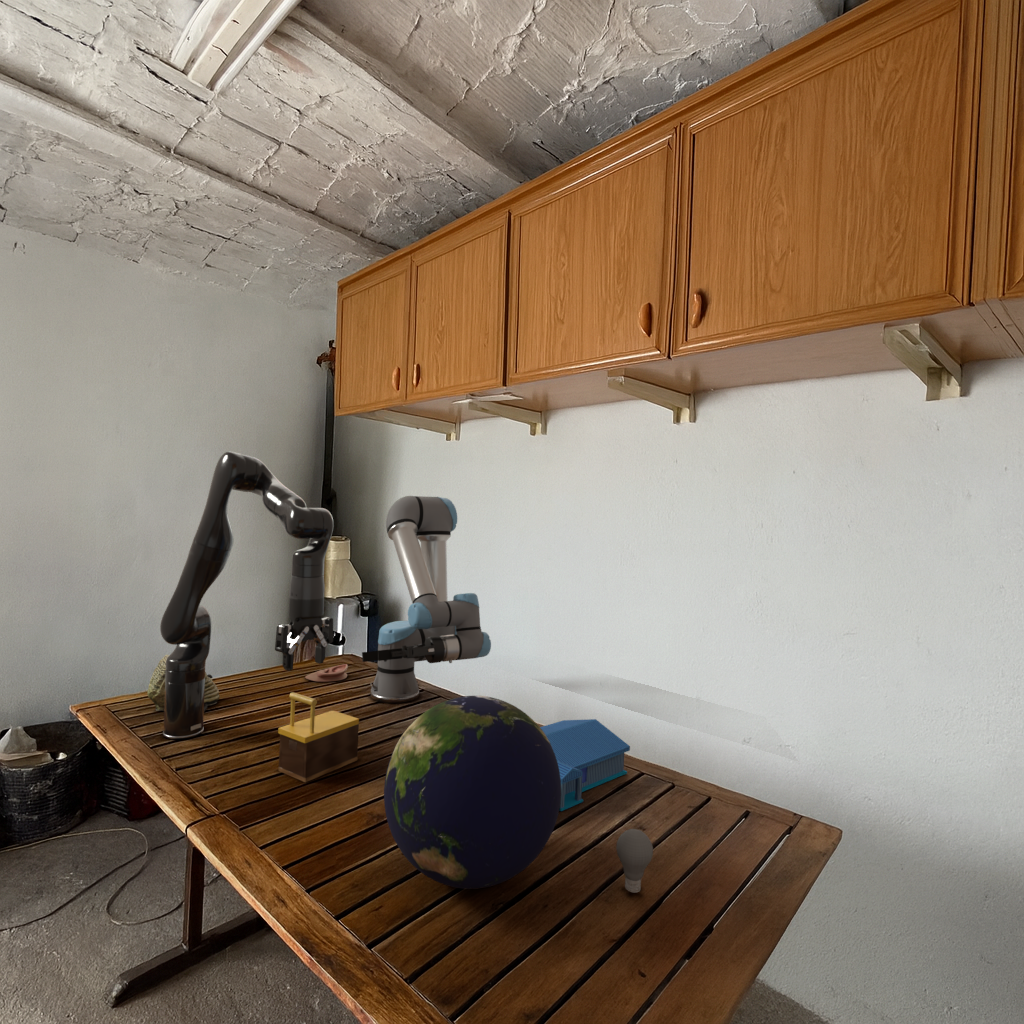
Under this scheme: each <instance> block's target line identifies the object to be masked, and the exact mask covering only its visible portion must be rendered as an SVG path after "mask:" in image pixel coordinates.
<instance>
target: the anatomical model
mask: <svg viewBox="0 0 1024 1024" xmlns="http://www.w3.org/2000/svg"><path fill="white" fill-rule="evenodd" d="M348 669H349V665H348V664H346V663H343V664H340V665H336V666H332V667H328V668H325V669H320V670H318V671H315V672H312V673H310V674H309V673H308V674H307V675H305V676H304V678H305V679H306V680H309V681H312V682H319V683H322V682H324V683H325V682H327V683H328V682H336V681H343V680H345V679H347V677H348V673H347V670H348Z"/></svg>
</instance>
